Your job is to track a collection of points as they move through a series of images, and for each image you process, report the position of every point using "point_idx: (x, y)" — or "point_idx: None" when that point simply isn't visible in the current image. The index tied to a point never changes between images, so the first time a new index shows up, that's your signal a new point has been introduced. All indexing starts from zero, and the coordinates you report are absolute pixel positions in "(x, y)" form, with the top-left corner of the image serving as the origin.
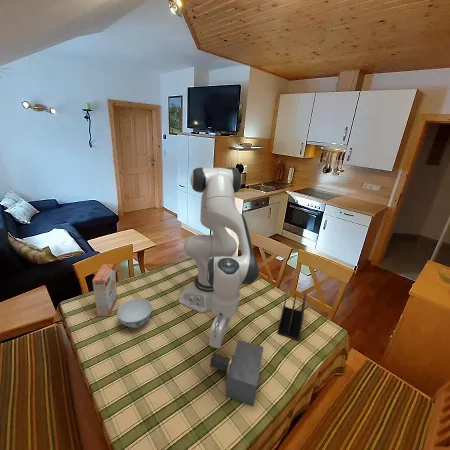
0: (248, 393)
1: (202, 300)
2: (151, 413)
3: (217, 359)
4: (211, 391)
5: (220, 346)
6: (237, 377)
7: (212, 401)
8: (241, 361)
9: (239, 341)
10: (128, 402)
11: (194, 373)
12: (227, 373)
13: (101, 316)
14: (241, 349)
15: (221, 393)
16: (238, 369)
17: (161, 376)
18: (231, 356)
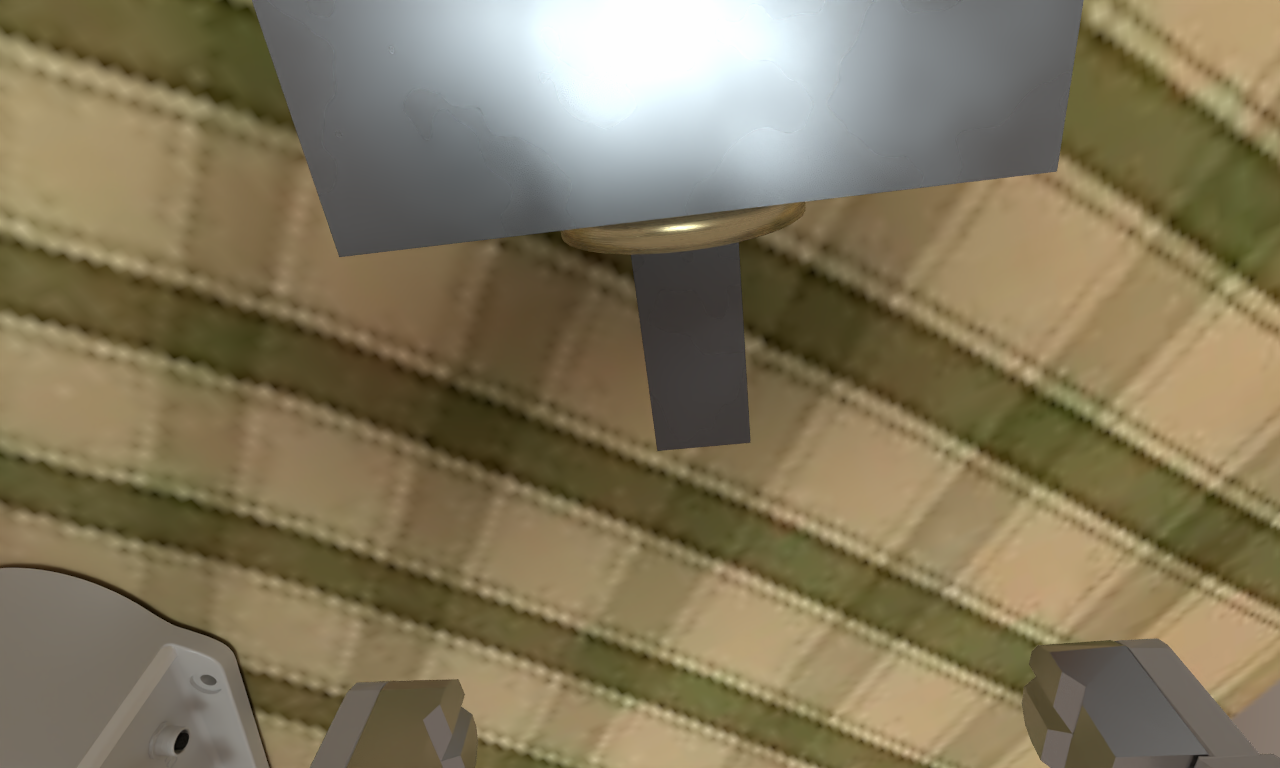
0: None
1: (117, 758)
2: (1157, 558)
3: (716, 378)
4: (897, 264)
5: (1128, 656)
6: (1036, 2)
7: (983, 217)
8: (711, 49)
9: (360, 229)
10: None
11: (792, 455)
12: None
13: None
14: (484, 139)
15: None
16: (885, 42)
17: (897, 626)
18: (639, 242)
